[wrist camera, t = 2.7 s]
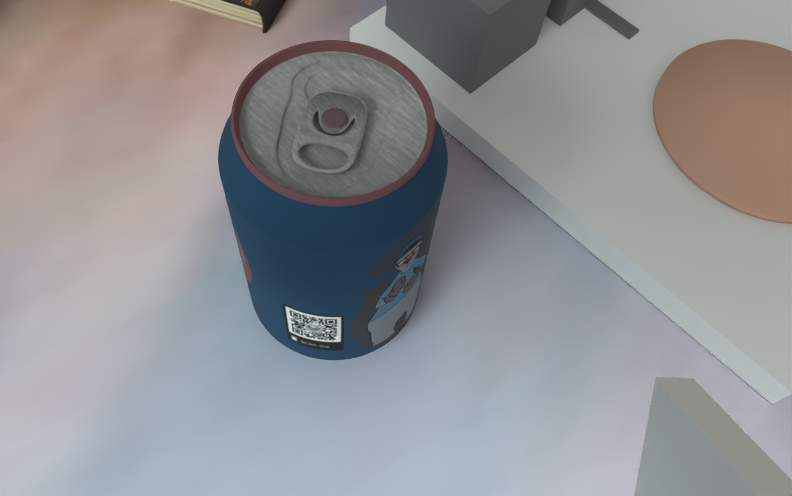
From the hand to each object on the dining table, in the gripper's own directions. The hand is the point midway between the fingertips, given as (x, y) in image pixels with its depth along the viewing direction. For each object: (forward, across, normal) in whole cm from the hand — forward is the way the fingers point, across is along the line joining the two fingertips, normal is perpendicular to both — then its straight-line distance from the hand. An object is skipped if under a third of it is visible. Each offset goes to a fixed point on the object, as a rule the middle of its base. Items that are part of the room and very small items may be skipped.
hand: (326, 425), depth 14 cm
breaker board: (+25, +16, +6) cm, 31 cm away
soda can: (+16, 0, -3) cm, 17 cm away
